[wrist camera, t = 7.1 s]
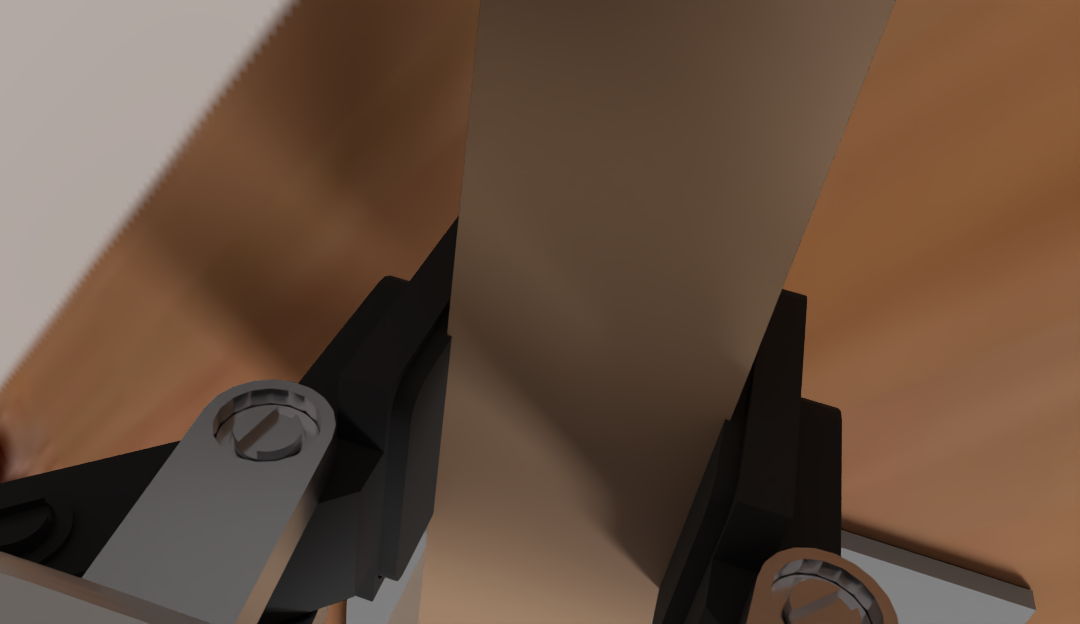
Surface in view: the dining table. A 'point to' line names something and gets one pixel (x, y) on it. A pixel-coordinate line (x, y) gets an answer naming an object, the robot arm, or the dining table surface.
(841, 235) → the dining table surface
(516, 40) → the tan rectangular bar
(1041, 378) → the dining table surface
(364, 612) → the rubber mat
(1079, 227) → the dining table surface
